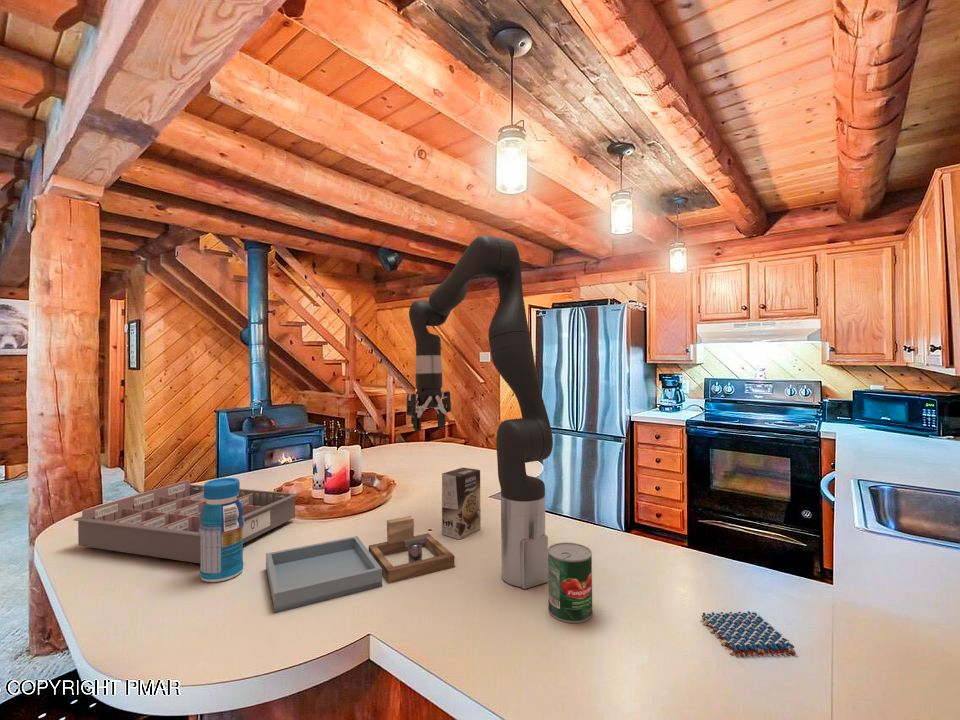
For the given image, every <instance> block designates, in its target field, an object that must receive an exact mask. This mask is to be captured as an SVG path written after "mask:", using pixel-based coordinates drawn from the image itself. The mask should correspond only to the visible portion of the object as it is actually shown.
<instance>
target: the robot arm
mask: <svg viewBox="0 0 960 720" xmlns="http://www.w3.org/2000/svg"><path fill="white" fill-rule="evenodd" d="M519 253H520V252H519V250H518V247H517V245H516V244H515V242H513V241H512V240H509V239H507V238H501V237H497V236H493V235H487V234H482V235H478V236H477V237H475V238H474V239H473V240H472V241H471V242H470V244H469V245H468V246H467V248H466V249H465V251H464V252H463V253H462V255H461V256H460V258H459V260H458V261H457V263H456V264H455V265H454V268H452V270H451V272H450V273H449V275H448V276H447V277H446V278H445V280H443V281H442V283H440V284H439V285H438V286H437V287H436V288H435V289H434V290H433V291H432V292H431V293H430V295H429V297H428V300H419V299H418V300H415V301H413V302H412V303H411V305H410V306H409V309H408V317H409V323H410V325H411V328H412V332H413V335H414V341H415V363H414V366H415V374H414V375H415V389H416V393H407V394H406V412H405V413H406V415H407V416H410V417H412V428H413V430H414V432H421V431H422V417H421V416H422V415H423V413H424V412H425V411H426V410H427V409H431V408H432V409H433V408H434V410H435V411H436V412H437V428H438V429H439V428H440V429H444V428H445V427H446V415H447V413H450V412H451V411H452V404H451V403H452V401H451V392H450V391H448V390H444V391H442V390H441V389H442V388H443V360H442V340H441V337H440V336H439V335H437V334H434V333H431V332H430V331H429V329H428V328H427V327H440V326H441V325H444V324H445V323H446V322H447V319H448V317H449V316H450V313H451V312H452V310H454V309H455V308H456V307H457V306H459V305H460V304H461V303H462V302H463V301H464V299H465V297H466V296H467V293H468V282H470V281H471V280H472V279H474V278H476V277H478V276H480V277H484V278H490V279H495V280H496V282H497V286H498V298H499V299H498V304H497V307H496V310H495V312H494V315H493V317H492V319H491V322H490V324H489V328H488V343H489V350H490V356H491V360H492V363H493V365H494V367H495V370H496V371H497V372H498V373H499V375H500V376H501V377H502V379H503V380H504V382H505V383H506V384H507V385H508V387H509V388H510V389H511V391H512V392H513V394H514V396H515V398H516V400H517V402H518V406H519V409H520V413H521V418H513V419H512V418H511V419H505V420H503V421H502V422H501V423H500V424H499V426H498V428H497V431H496V438H495V439H496V441H495V443H496V444H495V446H496V459H497V461H496V462H497V463H496V464H497V477H498V478H497V479H498V482H499V486H500V533H501V534H500V537H501V538H500V539H501V541H500V544H501V547H500V548H501V550H500V552H501V556H500V557H501V579H502V580H503V581H504V582H505V583H506V584H509V585H511V586H514V587H519V588H522V589H523V590H526V589H529V588H532V587H535V586H540V585H542V584H546V583H548V548H549V536H548V535H547V534H546V486H545V482H544V481H543V480H542V479H540V478H538V477H536V476H532V475H527V471H526V469H527V468H526V463H533V462H539V461H543V460H546V459H548V457H550V455H551V454H552V452H553V447H554V446H553V445H554V439H553V438H554V437H553V432H552V427H551V423H550V419H549V416H548V413H547V408H546V406H545V402H544V399H543V395H542V391H541V387H540V382H539V376H538V373H537V372H538V371H537V367H536V362H535V356H534V350H533V349H534V348H533V343H532V339H531V333H530V329H529V324H528V317H527V312H526V307H525V300H524V289H523V279H522V268H521V257H520V254H519Z"/></svg>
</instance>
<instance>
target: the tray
mask: <svg viewBox="0 0 960 720" xmlns="http://www.w3.org/2000/svg"><path fill="white" fill-rule="evenodd" d="M265 572H266V576H267V581H268V586H269V591H270V596H271V601H272V602H271V603H272V606H273V612H274V614H276V613H281V612H285V611H288V610H292V609H296V608H300V607H304V606H309V605H313V604H316V603H320V602H324V601H328V600H332V599H336V598H341V597H343V596H347V595H352V594H355V593H360V592H364V591H368V590H372V589H375V588H380V587H383V575H382V568H381V567H380V565H379V564H378V563H377V561H376V560H375V559H374V557H373V556H372V555H371V553H370V552H369V548H367V547H366V545H365V544H364V543H363V541H362V540H361V538H360V537H359V536H358V535H356V536H355V535H354V536H350V537H345V538H340V539H333V540H329V541H323V542H320V543H314V544H309V545H304V546H299V547H293V548H287V549H283V550H275V551H272V552H267V553H265Z"/></svg>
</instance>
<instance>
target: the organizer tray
mask: <svg viewBox="0 0 960 720" xmlns="http://www.w3.org/2000/svg"><path fill="white" fill-rule="evenodd" d="M297 496H299V493H293V492H282V491H281V492H279V491H270V490H268V491H267V490H261V489H260V490H259V489H249V488H248V489H247V488H240V493H239V495H238V496H237V499H238V500H239V501H240V503H241V504H242V507H243V513H242V517H243V519H244V527H243V544H245V543H247V542H249V541H251V540H253V539H255V538H257V537H259V536H261V535H263V534H265V533H266V532H269V531H271V530H273V529H275V528H278V527H279V526H281V525H283V524H285V523H287V522H288V521H290V520H293V519H294V518H296V497H297ZM206 502H207V500H205V499H204V484H201V485H199V484H191V479H186V480H185V479H184V480H182V481H179V482H175V483H171V484H169V485H165V486H162V487H158V488H155V489H151V490H147V491H145V492H144V491H143V492H141V493H136V494H135V495H130V496H127V497H123V498H120V499H116V500H113V501H109V502H105V503H103V504H99V505H96V506H93V507H88V508H85V509H82V510H81V516H78V517H75V518H73V521H74V522H75V521H76V522H77V525H78V526H77V529H78V531H77V533H78V536H77V537H78V538H77V539H78V544H77V545H78V546H81V547H86V548H93V549H99V550H100V549H101V550H105V551H107V550H108V551H114V552H121V553H127V554H135V555H141V556H148V557H155V558H161V559H167V560H174V561H175V560H176V561H181V562H188V563H195V564H201V545H200V533H199V526H200V524H201V522H202V521H201V519H200V513H201V510H202V508H203V506H204V505H205V503H206Z"/></svg>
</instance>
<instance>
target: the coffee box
mask: <svg viewBox="0 0 960 720" xmlns="http://www.w3.org/2000/svg"><path fill="white" fill-rule="evenodd" d="M481 511H482V510H481V470H480V469H477V468H472V467H471V468H470V467H468V468H467V467H459V468H456V469H453V470H449V471H447V472H443V473H441V534H442V535H443V536H446V537H450V538H452V539H456V540H462V539H464V538H466V537H468V536H470V535H472V534H474V533H476V532H478V531H480V530H481V529H482V527H481V526H482V525H481V521H482V520H481V519H482V518H481Z"/></svg>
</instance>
